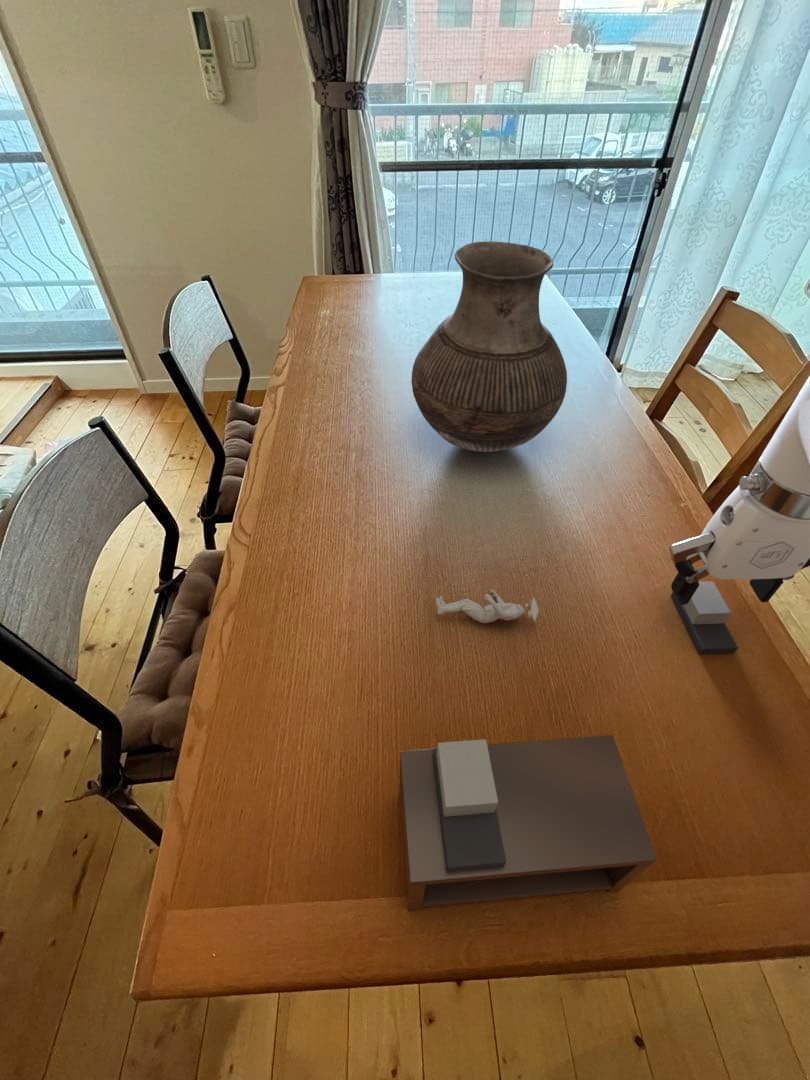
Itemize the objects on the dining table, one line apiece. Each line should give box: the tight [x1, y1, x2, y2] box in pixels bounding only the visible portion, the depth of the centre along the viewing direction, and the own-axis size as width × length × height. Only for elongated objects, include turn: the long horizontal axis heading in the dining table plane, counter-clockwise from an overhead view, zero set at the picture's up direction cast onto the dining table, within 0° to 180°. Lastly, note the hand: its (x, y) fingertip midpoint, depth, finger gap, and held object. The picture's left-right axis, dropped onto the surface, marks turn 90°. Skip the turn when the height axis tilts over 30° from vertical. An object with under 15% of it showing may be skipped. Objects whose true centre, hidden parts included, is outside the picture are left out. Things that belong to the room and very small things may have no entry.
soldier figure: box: [435, 589, 540, 624], centre depth 69 cm, size 8×5×12 cm
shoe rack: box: [398, 734, 658, 912], centre depth 49 cm, size 10×19×10 cm, turn 95°
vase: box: [411, 240, 568, 453], centre depth 86 cm, size 25×25×30 cm
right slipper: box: [670, 581, 739, 655], centre depth 69 cm, size 9×4×3 cm, turn 3°
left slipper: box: [432, 738, 506, 872], centre depth 44 cm, size 9×4×3 cm, turn 5°
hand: (718, 593), depth 66 cm, fingers open, 9 cm apart
